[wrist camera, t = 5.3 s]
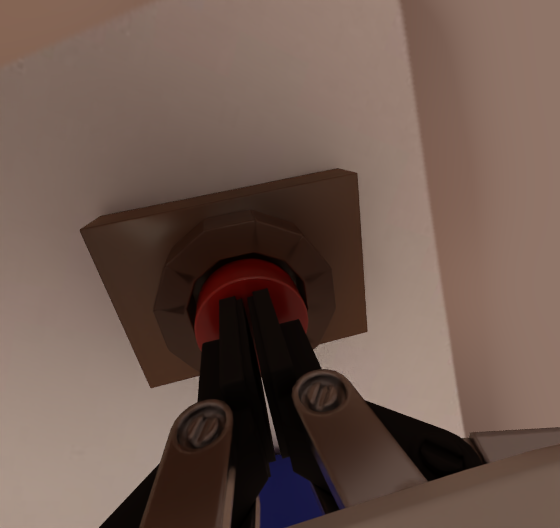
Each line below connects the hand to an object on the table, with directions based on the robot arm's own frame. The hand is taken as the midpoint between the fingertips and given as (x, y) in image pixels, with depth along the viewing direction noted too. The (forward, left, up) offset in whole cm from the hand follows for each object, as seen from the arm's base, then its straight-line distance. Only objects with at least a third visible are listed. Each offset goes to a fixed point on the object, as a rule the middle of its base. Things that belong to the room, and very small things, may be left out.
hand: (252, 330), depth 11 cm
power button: (0, 0, -2) cm, 2 cm away
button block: (0, 0, -6) cm, 6 cm away
